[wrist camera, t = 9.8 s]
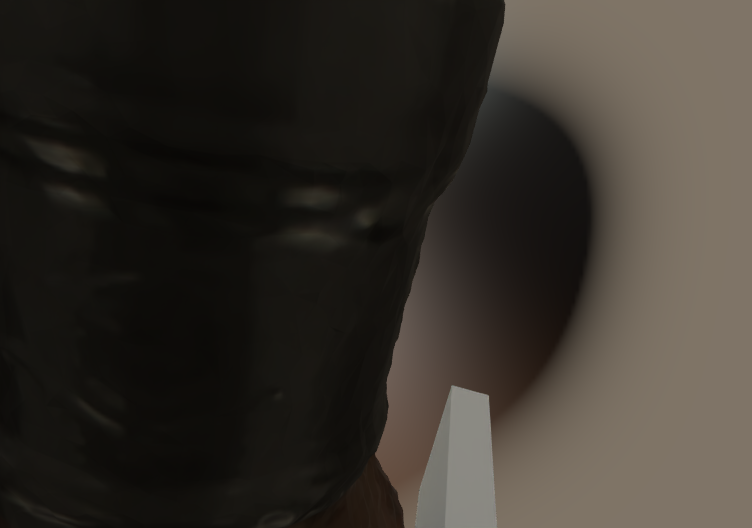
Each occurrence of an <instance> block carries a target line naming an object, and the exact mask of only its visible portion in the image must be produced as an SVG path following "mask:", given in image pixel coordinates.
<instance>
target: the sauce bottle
mask: <svg viewBox="0 0 752 528" xmlns="http://www.w3.org/2000/svg"><path fill="white" fill-rule="evenodd" d="M504 11H505V2H504V0H0V528H404V522H403V509H402V507H401V505H400V503H399V500H398V494H397V491H396V490H395V489H394V487H393V486H392V485H391V483H390V481H389V479H388V476H387V475H386V474H385V473H384V471H383V470H382V467H381V465H380V463H379V461H378V459H377V458H376V457H375V452H376V451H377V448H378V445H379V443H380V439H381V437H382V434H383V431H384V427H385V424H386V420H387V413H388V400H387V394H386V390H387V384H386V382H387V376H388V374H389V371H390V368H391V364H392V356H393V349H394V346H395V342H396V341H397V339H398V337H399V332H400V327H401V323H402V318H403V311H404V306H405V303H406V301H407V298H408V296H409V293H410V290H411V285H412V281H413V278H414V275H415V272H416V269H417V267H418V264H419V259H420V249H421V245H422V242H423V240H424V236H425V231H426V226H427V221H428V216H429V214H430V212H431V209H432V207H433V204H434V202H435V201H436V199H437V198H438V197H439V196H440V195H441V194H442V193H443V192H444V191H445V190H446V188H447V187H448V186H449V185H450V183H451V182H452V181H453V179H454V177H455V175H456V172H457V171H458V169H459V166H460V164H461V162H462V160H463V158H464V156H465V154H466V152H467V149H468V147H469V145H470V142H471V138H472V134H473V130H474V127H475V123H476V119H477V116H478V112H479V108H480V106H481V104H482V101H483V99H484V97H485V95H486V93H487V84H488V79H489V76H490V72H491V68H492V64H493V61H494V57H495V53H496V49H497V46H498V42H499V38H500V35H501V31H502V27H503V24H504Z"/></svg>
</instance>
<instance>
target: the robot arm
mask: <svg viewBox="0 0 752 528" xmlns="http://www.w3.org/2000/svg"><path fill="white" fill-rule="evenodd" d="M415 528H497V521H496V507H495V489H494V475H493V458H492V442H491V426H490V411H489V396H488V395H485V394H482V393H478V392H474V391H470V390H467V389H463V388H460V387H456V386H452V387H451V390H450V393H449V396H448V400H447V403H446V406H445V409H444V413H443V416H442V419H441V422H440V425H439V429H438V432H437V435H436V438H435V442H434V445H433V448H432V451H431V454H430V458H429V461H428V464H427V467H426V471H425V474H424V477H423V480H422V483H421V487H420V490H419V497H418V506H417V515H416V523H415Z"/></svg>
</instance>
